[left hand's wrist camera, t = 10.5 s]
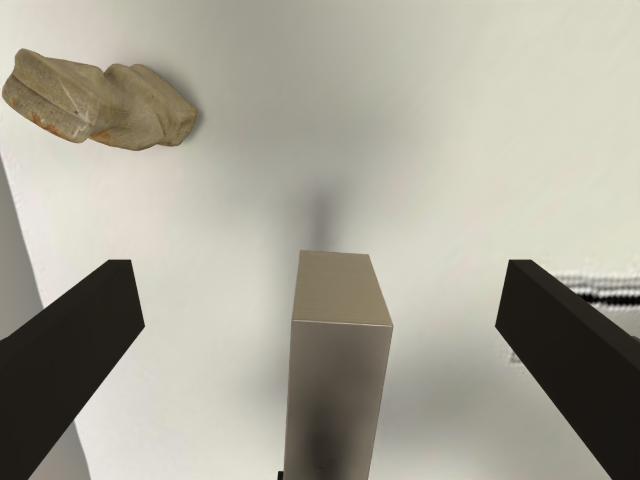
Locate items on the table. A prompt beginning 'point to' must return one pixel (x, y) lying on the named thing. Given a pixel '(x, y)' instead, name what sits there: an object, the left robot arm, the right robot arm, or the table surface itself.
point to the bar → (335, 367)
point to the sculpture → (98, 102)
